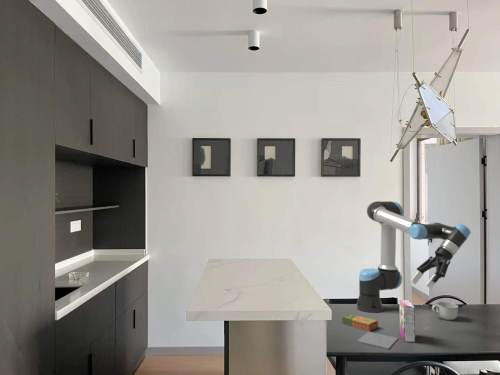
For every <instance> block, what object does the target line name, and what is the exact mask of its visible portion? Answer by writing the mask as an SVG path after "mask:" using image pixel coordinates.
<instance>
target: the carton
mask: <svg viewBox="0 0 500 375" xmlns="http://www.w3.org/2000/svg"><path fill="white" fill-rule="evenodd" d="M341 323H342V324H343V325H346V326H349V327H353V328H357V329H360V330H363V331H366V332H372V331H374V330H376V329H378V328H379V320H376V319H373V318H369V317H366V316H362V315H357V314H355V313H349V314H347V315H343V316H342V322H341Z"/></svg>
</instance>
